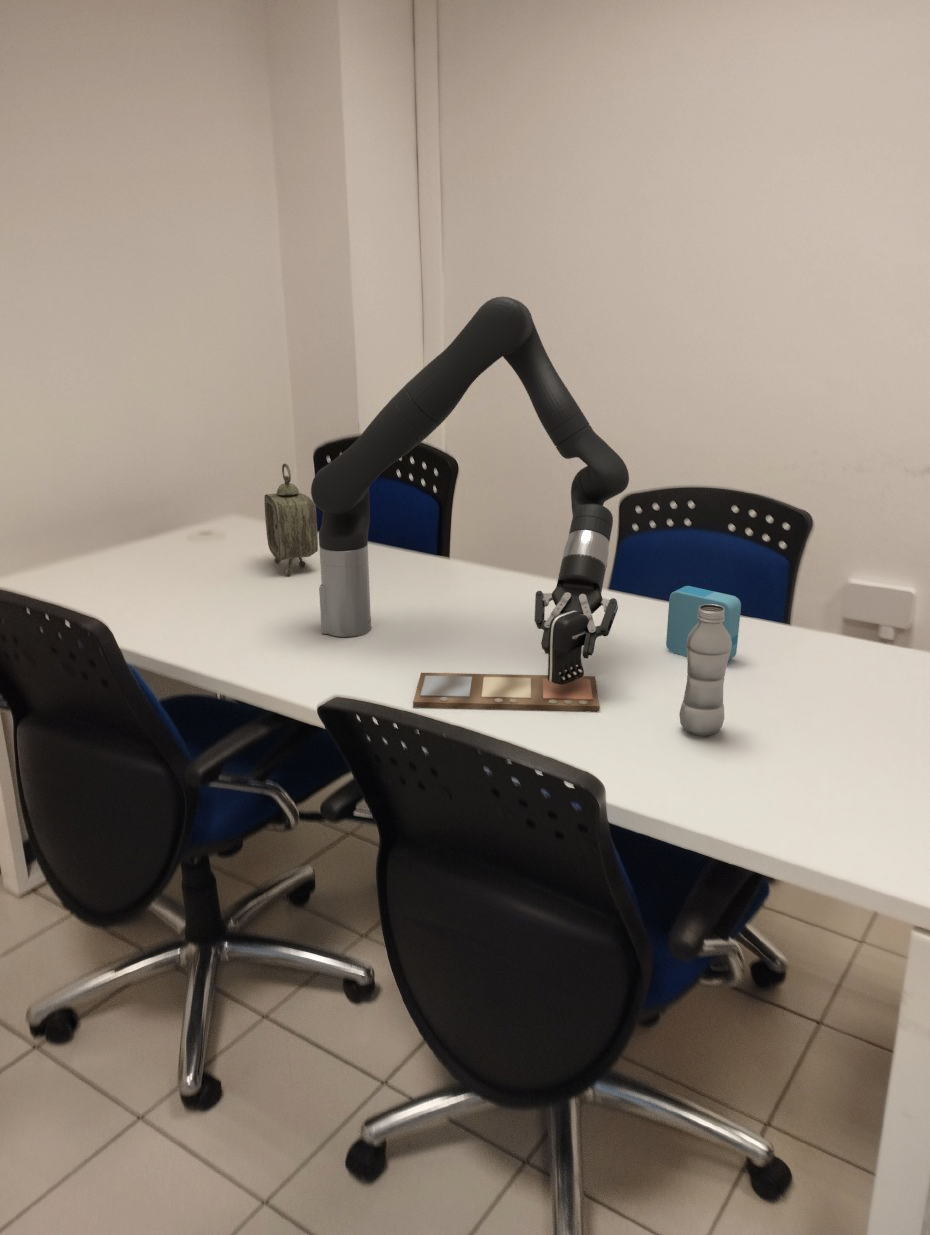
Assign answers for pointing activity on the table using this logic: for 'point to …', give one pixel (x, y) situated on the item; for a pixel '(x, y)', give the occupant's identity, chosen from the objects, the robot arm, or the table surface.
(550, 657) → the battery charger
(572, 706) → the tile board
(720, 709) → the plastic bottle
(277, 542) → the tabletop clock
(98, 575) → the table surface
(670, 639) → the data package
